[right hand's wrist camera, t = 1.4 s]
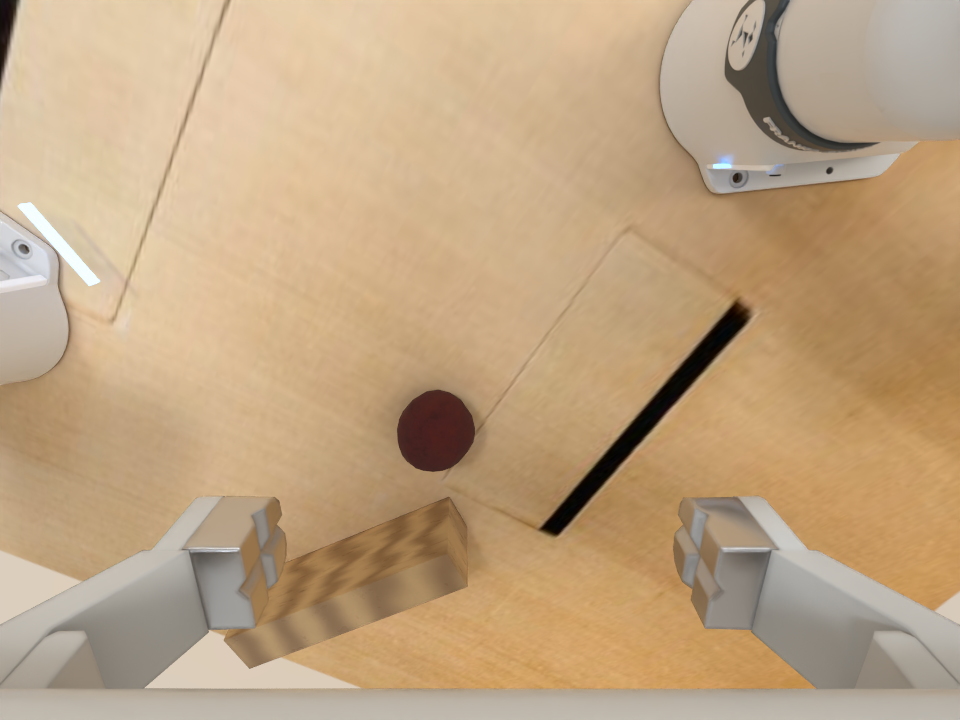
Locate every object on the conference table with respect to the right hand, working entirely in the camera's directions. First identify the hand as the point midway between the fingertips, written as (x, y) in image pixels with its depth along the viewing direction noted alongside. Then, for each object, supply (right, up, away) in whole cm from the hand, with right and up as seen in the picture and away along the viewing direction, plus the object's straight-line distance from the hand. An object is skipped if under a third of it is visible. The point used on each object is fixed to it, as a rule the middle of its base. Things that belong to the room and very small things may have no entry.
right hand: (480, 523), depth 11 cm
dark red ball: (-4, -2, +42) cm, 43 cm away
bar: (-14, -19, +49) cm, 54 cm away
